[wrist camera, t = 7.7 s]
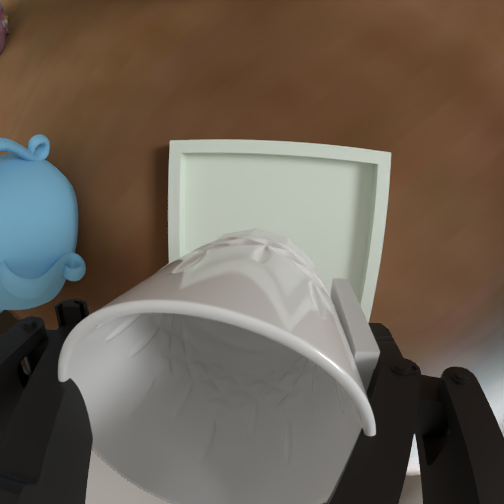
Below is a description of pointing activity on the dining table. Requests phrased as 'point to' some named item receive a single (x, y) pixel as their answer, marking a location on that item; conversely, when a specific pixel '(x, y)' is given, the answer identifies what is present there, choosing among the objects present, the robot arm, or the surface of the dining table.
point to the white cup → (223, 378)
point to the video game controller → (3, 28)
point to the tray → (284, 202)
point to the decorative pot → (35, 226)
